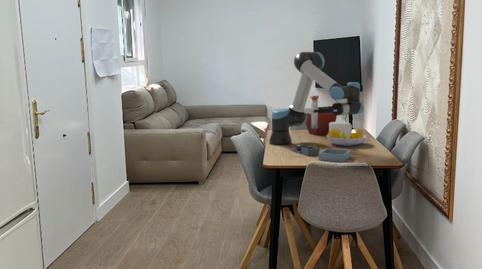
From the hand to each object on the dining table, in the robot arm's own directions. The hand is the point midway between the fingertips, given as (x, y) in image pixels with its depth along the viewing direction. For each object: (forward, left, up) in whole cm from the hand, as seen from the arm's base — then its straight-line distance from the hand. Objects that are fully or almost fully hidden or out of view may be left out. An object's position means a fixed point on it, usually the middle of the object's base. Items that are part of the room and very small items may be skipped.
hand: (306, 111), depth 280 cm
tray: (+18, -1, -27) cm, 32 cm away
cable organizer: (+2, +69, -27) cm, 74 cm away
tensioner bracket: (-4, +9, -27) cm, 28 cm away
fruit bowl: (+12, +46, -27) cm, 55 cm away
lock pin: (+3, +4, -10) cm, 12 cm away
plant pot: (-18, +85, -27) cm, 91 cm away
